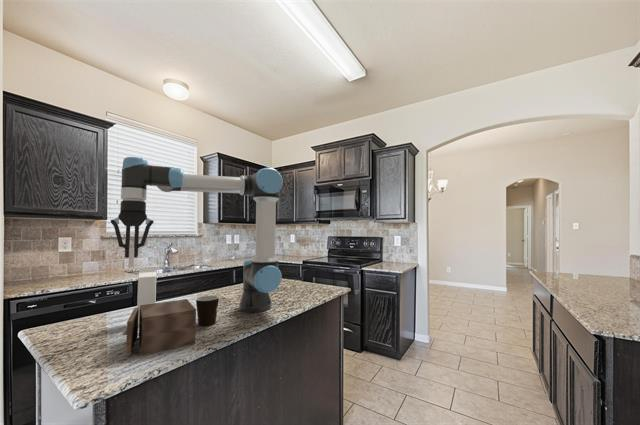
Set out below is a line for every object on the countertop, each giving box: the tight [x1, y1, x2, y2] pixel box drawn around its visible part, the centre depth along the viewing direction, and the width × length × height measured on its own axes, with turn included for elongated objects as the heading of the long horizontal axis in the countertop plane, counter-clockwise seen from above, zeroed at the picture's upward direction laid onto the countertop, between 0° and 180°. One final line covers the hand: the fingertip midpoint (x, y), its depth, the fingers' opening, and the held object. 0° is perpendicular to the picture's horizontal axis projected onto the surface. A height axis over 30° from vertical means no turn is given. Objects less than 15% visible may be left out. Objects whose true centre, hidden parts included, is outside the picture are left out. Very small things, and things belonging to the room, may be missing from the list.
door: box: [122, 307, 139, 357], centre depth 87 cm, size 2×17×10 cm, turn 28°
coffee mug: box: [195, 295, 220, 327], centre depth 110 cm, size 12×9×10 cm
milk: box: [136, 267, 157, 327], centre depth 110 cm, size 6×6×22 cm
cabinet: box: [138, 298, 197, 356], centre depth 92 cm, size 15×17×11 cm
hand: (130, 266), depth 96 cm, fingers closed
